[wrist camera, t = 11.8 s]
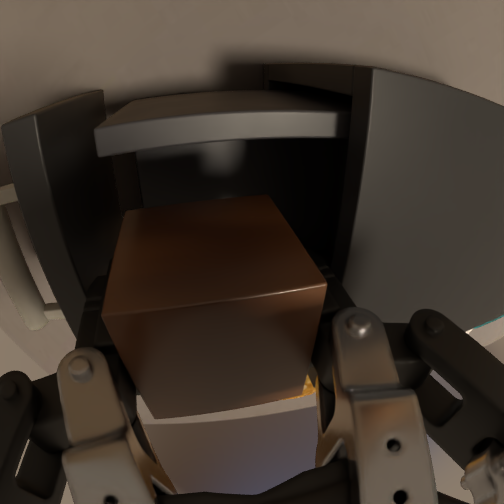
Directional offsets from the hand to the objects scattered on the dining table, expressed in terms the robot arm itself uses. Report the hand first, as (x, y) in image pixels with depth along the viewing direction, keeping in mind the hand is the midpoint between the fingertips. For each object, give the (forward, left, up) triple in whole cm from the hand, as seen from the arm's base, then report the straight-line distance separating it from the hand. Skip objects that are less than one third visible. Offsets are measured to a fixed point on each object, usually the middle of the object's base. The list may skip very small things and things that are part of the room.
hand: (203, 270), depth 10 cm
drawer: (0, 0, -7) cm, 7 cm away
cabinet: (+12, 0, -8) cm, 14 cm away
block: (0, 0, 0) cm, 0 cm away
